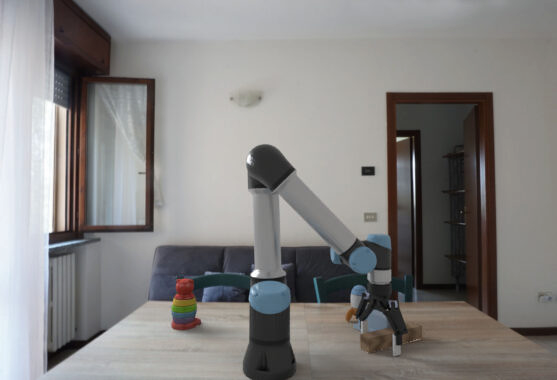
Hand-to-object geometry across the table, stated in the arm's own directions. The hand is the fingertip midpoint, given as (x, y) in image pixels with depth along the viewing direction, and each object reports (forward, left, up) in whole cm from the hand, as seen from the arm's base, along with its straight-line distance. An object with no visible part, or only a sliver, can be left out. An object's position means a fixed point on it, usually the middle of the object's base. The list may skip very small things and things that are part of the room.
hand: (380, 347), depth 116 cm
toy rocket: (+12, +23, -1) cm, 26 cm away
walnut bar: (+6, 0, 0) cm, 6 cm away
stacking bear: (-49, +52, 0) cm, 71 cm away
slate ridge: (+10, +11, 0) cm, 14 cm away
